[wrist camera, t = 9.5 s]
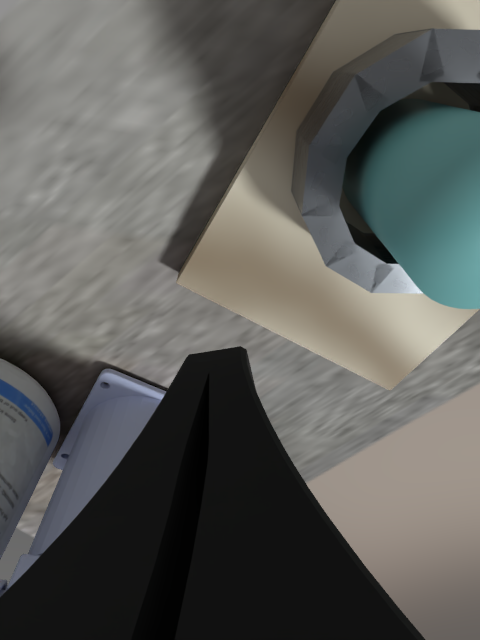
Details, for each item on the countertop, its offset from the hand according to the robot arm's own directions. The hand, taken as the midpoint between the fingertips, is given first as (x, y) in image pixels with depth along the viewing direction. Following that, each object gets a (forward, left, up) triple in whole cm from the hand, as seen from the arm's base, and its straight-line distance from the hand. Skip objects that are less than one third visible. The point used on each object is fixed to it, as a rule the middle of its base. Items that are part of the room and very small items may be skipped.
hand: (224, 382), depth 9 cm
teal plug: (+6, -4, -9) cm, 11 cm away
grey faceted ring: (+6, -4, -9) cm, 11 cm away
